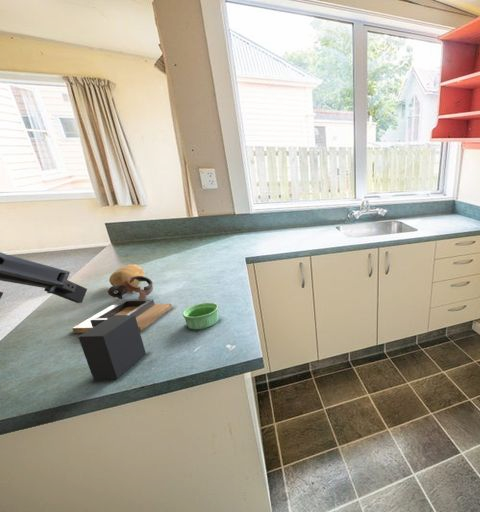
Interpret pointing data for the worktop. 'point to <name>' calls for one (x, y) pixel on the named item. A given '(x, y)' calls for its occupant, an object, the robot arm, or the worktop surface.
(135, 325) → the dark gray block
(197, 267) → the worktop surface
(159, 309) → the wooden base board
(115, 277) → the tan rounded piece
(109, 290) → the pottery mug
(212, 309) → the ramekin
